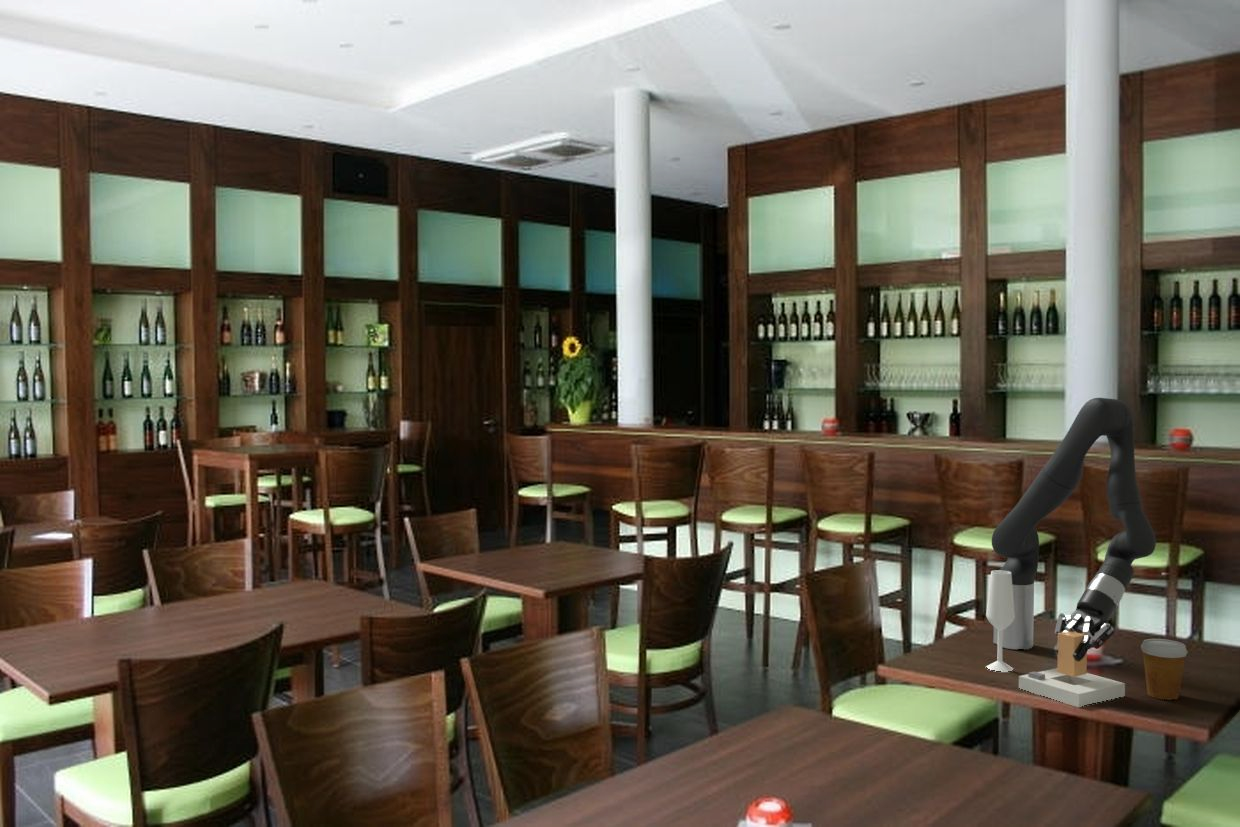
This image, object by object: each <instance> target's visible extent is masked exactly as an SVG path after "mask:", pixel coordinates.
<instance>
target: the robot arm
mask: <svg viewBox="0 0 1240 827" xmlns="http://www.w3.org/2000/svg"><path fill="white" fill-rule="evenodd" d="M1133 418H1134V416H1133V413H1132V409H1131V407H1130V405H1129V404H1128V403H1126V402H1125V401H1123V400H1120V399H1116V398H1108V397H1107V398H1105V397H1094V398H1091V399H1090V400H1088V401H1086V402H1085V403H1084V405H1083V406H1082V407H1081V409H1080V410H1079V411H1078V413H1077V415H1076V417H1075V418H1074V421H1073V422H1072V424H1071V426H1070V428H1069V430H1068V431H1067V433H1066V435H1065V436H1064V437H1063V439H1062V440H1061V442H1060V443H1059V445H1058V446H1057V448H1056V449H1055V450H1054V452H1053V454H1052V455H1051V457H1050V458H1049V459H1048V460H1047V462H1046V463H1045V464H1044V465H1043V467H1041V470H1040V471H1039V473H1038V474H1037V475H1036V477H1035V479H1034V480H1033V481H1032V483H1031V484H1030V485H1029V487H1028V488H1027V489H1026V491H1025V492H1024V493H1023V496H1022V497H1021V498H1020V499H1019V501H1018V502H1017V504H1015V506H1014V507H1013V508H1012V509H1011V511H1010V512H1009V513H1008V514H1007V515H1006V516H1005V517H1004V519H1003V520H1001V522H1000V523H999V524H998V525H997V526H996V528H995V529H994V530H993V533H992V535H991V547H992V549H993V551H994V553H995V554H996V555H997V556H999V557H1002V558H1007V560H1006V562H1005V563H1004V565H1003V566H1002V567H1001V568H1000V569H999V570H1002V571H1009V572H1011V575H1012V587H1013V599H1014V611H1015V619H1014V621H1013V622H1012V623H1011V624H1010V625H1009V626H1008V627H1007V628H1006V629H1004V630H1003V648H1004V649H1008V650H1009V649H1010V650H1018V649H1024V650H1031V649H1033V648H1034V614H1035V607H1034V606H1035V577H1036V575H1037V572H1038V568H1039V555H1040V539H1039V533H1038V530H1037V529H1036V525H1038V524H1039V523H1040V522H1041V521H1042V520H1043V519H1044V518H1045V517H1047V516H1049V515H1050V514H1051V513H1053V512H1054V511H1056V510H1057V509H1058V508H1060V507H1061V505H1063V504H1064V503H1065V502H1066V501H1067V500H1068V499H1069V497H1070V496H1071V495H1072V493H1073V492H1074V491H1075V489H1076V488H1077V487H1078V485H1079V484H1080V482H1081V480H1082V477H1083V473H1084V464H1085V458H1086V456H1087V454H1088V452H1089V450H1090V449H1091V448H1092V446H1093V445H1094V444H1095V443H1096V441H1097V440H1098V439H1099V438H1100V437H1102V436H1103V437H1106V438H1107V441H1108V445H1109V450H1110V462H1109V466H1108V471H1107V476H1106V482H1105V484H1106V486H1105V488H1106V489H1105V490H1106V495H1107V501H1108V506H1109V510H1110V514H1111V517H1112V519H1114V520H1115V521H1119V522H1122V524H1123V526H1124V528H1125V530H1123V531H1120V532H1118V533H1116V534H1115V535H1114V536H1113V537H1112V538H1111V540H1110V541H1109V543H1108V546H1107V548H1106V551H1105V552H1106V553H1105V556H1104V559H1103V560H1104V561H1103V562H1102V564H1101V566H1100V567H1099V570H1097V573H1096V574H1095V575H1094V577H1093V578H1092V579H1091V580H1090V582H1089V584H1088V585H1087V587H1086V589H1085V590H1084V591H1083V593H1082V595H1081V597H1080V599H1079V600H1078V601H1077V603H1076V608H1075V610H1074V611H1073V612H1071V614H1068V615H1065V614H1064V613H1063V612H1061V613H1059V614H1058V617H1057V621H1056V625H1055V628H1054V634H1055V636H1057V638H1058V633H1062V632H1067V631H1068V632H1071V631H1073V632H1077V633H1082V634H1083V635H1084V637H1083V638H1082V643H1080V644H1079V646H1078V647H1077V649H1076V651H1075V652H1074V654H1073V658H1074V659H1075V660H1076V661H1080V660H1082V659H1083V658H1084V656H1085V654H1086V653H1087V652H1088V651H1089V650H1091V649H1092V648H1093V649H1096V650H1097V649H1100V648H1101V647H1102V646H1103V645H1104V644H1105V643H1106V641H1108V640H1109V639H1110V638H1111V637H1112V636H1113V635H1114V634H1115V633H1116V632H1115V629H1114V628H1113V626H1112V625H1111V624H1110V623H1108V622H1109V621H1110V619H1111V617H1112V616H1113V614H1114V612H1115V611H1116V609H1117V608H1118V606H1119V604H1120V603H1121V600H1122V598H1123V596H1124V594H1125V591H1126V590H1127V588H1128V586H1129V584H1130V583H1131V581H1132V579H1133V577H1134V573H1135V571H1134V567H1133V566H1132V563H1134V561H1135V560H1138V559H1142V558H1146V557H1149V556H1151V555H1152V554H1153V553H1154V551H1155V550H1156V545H1157V540H1156V535H1155V531H1154V530H1153V528H1152V525H1151V523H1150V521H1149V519H1148V517H1147V515H1146V513H1145V512H1144V510H1143V506H1142V500H1141V495H1140V491H1139V485H1138V482H1137V481H1138V480H1137V473H1136V466H1135V465H1136V463H1135V460H1136V459H1135V441H1134V440H1135V439H1134V437H1135V436H1134V420H1133ZM992 641H993V644H995V645H996V646H998V629H996V628H995V627H994V626H993V640H992ZM1032 647H1033V648H1032ZM1030 648H1031V649H1030ZM1053 650H1054V653H1055V655H1056V656H1057V657H1058V641H1057V643H1056V644H1055V646H1054V647H1053ZM1087 654H1088V653H1087Z"/></svg>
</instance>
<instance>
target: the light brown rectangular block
mask: <svg viewBox="0 0 1240 827" xmlns="http://www.w3.org/2000/svg"><path fill="white" fill-rule="evenodd" d="M1073 631H1074V630H1073ZM1073 631H1071V632H1068V631H1067V632H1062V633H1058V637H1057V642H1058V656H1057V663H1056V664H1057V667H1056V668H1057V672H1059V673H1062V674H1066V675H1069V676H1073V677H1075V676H1080V675H1084V674H1087V673H1088V672H1087V671H1088V670H1087V668H1088V666H1087V665H1088V664H1087V663H1088V659H1087V658H1088V653H1086V654H1085V656H1084V658H1083V659H1082V660H1080V661H1076V660H1075V659H1074V658H1073V654H1074V652H1075V651H1076V649H1077V647H1078V646H1079V644H1080V643H1082V638H1083V637H1084V635H1083V634H1082V633H1077V632H1073Z"/></svg>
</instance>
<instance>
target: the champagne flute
mask: <svg viewBox="0 0 1240 827" xmlns="http://www.w3.org/2000/svg"><path fill="white" fill-rule="evenodd" d="M985 616H986V618H987V621H988V622H989V623H990V625H992V626H993V628H994V627H995V628H996V629H998V645H997V655H996V656H997V658H996V659H997V660H996V661H994V662H992V663H990V664H988V665H986V666H985V668H986V667H987V668H988V669H990V670H989V671H991V670H995V671H994V672H996V671H1001V672H1000V673H1009V672H1008V671H1012V670H1013V669H1014V667H1012V666H1011V665H1009V664H1007V663H1006V662H1005V661H1003V630H1004V629H1006V628H1007V627H1008V626H1009V625H1010V624H1011V623H1012V622H1013V621H1014V619H1015V611H1014V599H1013V587H1012V575H1011V572H1009V571H1002V570H1000V569H999V570H996V569H995V570H991V571H990V577H989V587H988V597H987V604H986V613H985ZM988 669H987V670H988ZM1012 672H1013V671H1012Z"/></svg>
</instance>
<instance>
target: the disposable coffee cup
mask: <svg viewBox="0 0 1240 827" xmlns="http://www.w3.org/2000/svg"><path fill="white" fill-rule="evenodd" d="M1140 649H1141V651H1142V656H1143V664H1144V673H1145V682H1146V689H1147V690H1146V691H1147V692H1146V693H1147V696H1149V697H1152V698H1153V697H1154V699H1159V700H1164V699H1165V700H1166V699H1167V701H1173V700H1172V699H1174V700H1178V699H1179V698H1178V697H1180V689H1181V685H1182V684H1181V683H1182V679H1183V672H1184V666H1185V659H1186V656H1187V654H1188V653H1189V652H1188V650H1187V648H1186V644H1184V643H1183V642H1181V641H1176V640H1173V639H1172V640H1171V639H1164V638H1148V639H1147V638H1146V639H1144V640H1142V644H1141V645H1140Z"/></svg>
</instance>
